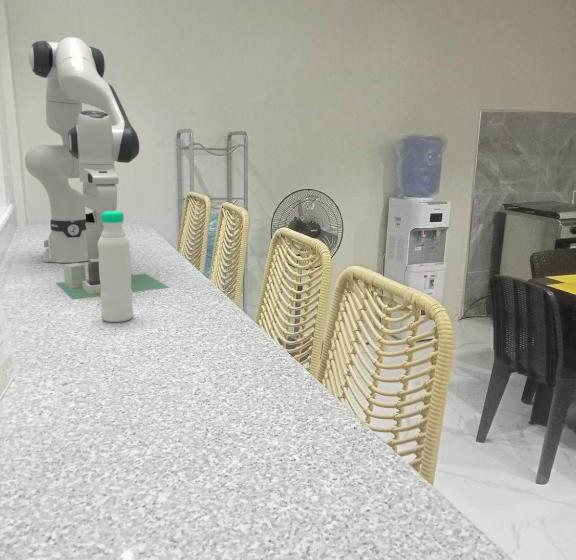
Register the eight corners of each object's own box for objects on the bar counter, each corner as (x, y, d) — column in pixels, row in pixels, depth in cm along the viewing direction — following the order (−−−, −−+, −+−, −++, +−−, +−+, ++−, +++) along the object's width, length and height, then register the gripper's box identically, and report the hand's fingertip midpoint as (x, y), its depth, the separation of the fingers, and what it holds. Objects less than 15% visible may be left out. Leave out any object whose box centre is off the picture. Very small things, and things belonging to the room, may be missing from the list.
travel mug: (104, 277, 173) (101, 212, 169) (85, 276, 174) (80, 211, 170) (114, 273, 179) (111, 209, 175) (95, 272, 180) (92, 209, 176)
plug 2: (88, 288, 156) (87, 258, 154) (107, 285, 158) (105, 257, 156) (93, 291, 152) (91, 261, 150) (112, 289, 154) (110, 260, 152)
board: (56, 287, 161) (55, 276, 160) (145, 277, 175) (145, 267, 174) (72, 303, 144) (72, 291, 144) (170, 291, 158) (169, 280, 158)
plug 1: (63, 285, 158) (62, 264, 157) (77, 283, 161) (75, 262, 160) (72, 288, 155) (70, 266, 153) (86, 286, 158) (84, 264, 156)
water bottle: (139, 316, 135) (134, 211, 129) (121, 324, 129) (116, 214, 123) (114, 313, 137) (108, 209, 132) (95, 321, 131) (88, 212, 125)
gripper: (75, 172, 156) (78, 222, 159) (94, 178, 139) (97, 234, 142) (99, 172, 159) (101, 221, 162) (120, 177, 142) (122, 232, 146)
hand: (99, 227), depth 152 cm, fingers closed
